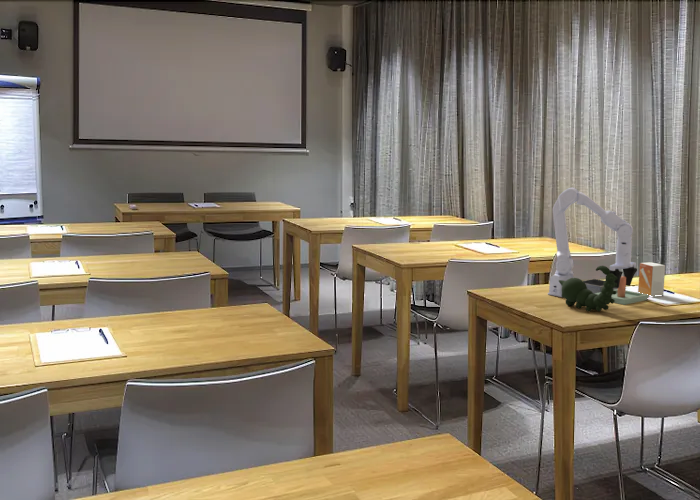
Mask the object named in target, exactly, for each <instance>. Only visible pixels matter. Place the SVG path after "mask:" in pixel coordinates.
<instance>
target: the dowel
mask: <svg viewBox="0 0 700 500" xmlns="http://www.w3.org/2000/svg"><path fill="white" fill-rule="evenodd" d="M626 286H627V285H626V277H624V275H621V278H620V284H619V288H618V292H617V297H625V292H626V291H627V290H626V288H627V287H626Z"/></svg>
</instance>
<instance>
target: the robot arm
mask: <svg viewBox="0 0 700 500" xmlns="http://www.w3.org/2000/svg"><path fill="white" fill-rule="evenodd" d="M573 204H576V205H579V206H584V207H586V208H587V209H589V210H591V211H592V212H593V213H595V214H596V215H597V216H599V217H600V222H601V223H603V225H605V226H606V227H607V228H608V229H610V230H611V231H613V232H616V234H617V241H616V247H615V248H616V249H615V263H613V264H611V265H609V270H610V273H612V274H614V275H615V276H616V277H617V280H615V281H614V282H615V283H617V286H616V287H614V288H619V284H620V278H621V276H623V277H626V286H628V287H630V286H631V284H632V281H633V279H634V276H635V275H636V273H637V272H638V268H636V267H637V262H634V261H632V250H633V247H632V246H633V241H632V240H633V236H632V235H633V233H634V228H633V226H632V224H631V223H630V222H627V220H626V219H625V218H624V219H623V218H622V217H621V216H619V215H618V214H617V212H616V211H615V210H613V211H612V210H611V209H610V210H606V209H605V208H603V207H602V206H601V205H600V204H598V203H597V202H596V201H595V200H593V198H591V197H589V196H588V195H587V194H585V193H584V192H583V191H580V190H579V189H577V188H576V187H572V186H571V187H568V188H566V189H564V190H563V191H562V192H561V193H560V194H559V195H558V197H557V198H556V201H555V203H554V205H553V207H552V219H553V224H554V226H553V227H554V233H555V242H556V243H555V244H556V263H555V269H556V270H555V273H554V274H553V275H552V276H550V278H549V286H548V287H549V288H548V289H549V290H548V291H549V292H547V295H550V296H555V297H558V298H563V297H562V285H561V284H560V283H559V280H563V281H566V280H568V279H570V278H574V275H575V274H574V271H573V270H572V269H574V266H575V265H574V264H575V262H574V259H573V257H572V256H571V255H572V254H571V251H570V245H569V237H568V229H567V219H566V217H567V216H566V211H567V210H568V208H569V207H571V205H573ZM620 270H622V271H620Z"/></svg>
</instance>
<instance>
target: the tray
mask: <svg viewBox="0 0 700 500" xmlns="http://www.w3.org/2000/svg"><path fill="white" fill-rule="evenodd" d="M615 291H616V294H615V295H614V294H613V295H612V299H614V300H615V302H614V303H613V304H618V305H623V306H624V305H630V304H635V303H639V302H645V301H647V300H646V299H647V298H650V297H649V295H647V294H642V293H638V291H637V292H636V291H630V290H626V292H625V297H617V292H618V289H616V290H615ZM600 293H601V292H600ZM600 293H595V294H597V295H599V294H600Z"/></svg>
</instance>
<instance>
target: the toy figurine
mask: <svg viewBox="0 0 700 500" xmlns="http://www.w3.org/2000/svg"><path fill="white" fill-rule="evenodd" d="M609 269H610V267H607V266H606V265H599V266H597V267H596V268H595V271H596V272H598V271H601V272H602V274H603V275H605V280H604V287H603V288H602V290H601V293H600V294H599V295H597V294H593V292H592V291H591V290H589V289H587V286H586V284H585V283H584V282H583V281H584V280H582V279H580V278H578V277H573V278H570V279H568V280H566V281H563V280H559V283H560V284H561V285H562V297H561V298H564V300H565V301H564V302H565V304H566V306H569V307H573V306H575V307H576V308H577V309H582V307H585V311H586V312H591V311H597V312H601V311H607V310H608V309H609V305H610V304H615V303H614V302H615V300H614V299H612V295H613V294H614V295H615V294H616V291H615V290H613V288H614V287H616V286H617V283H615V282H614V281H615V280H617V277H616V276H615V275H614V274H612V273H610V270H609Z"/></svg>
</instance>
